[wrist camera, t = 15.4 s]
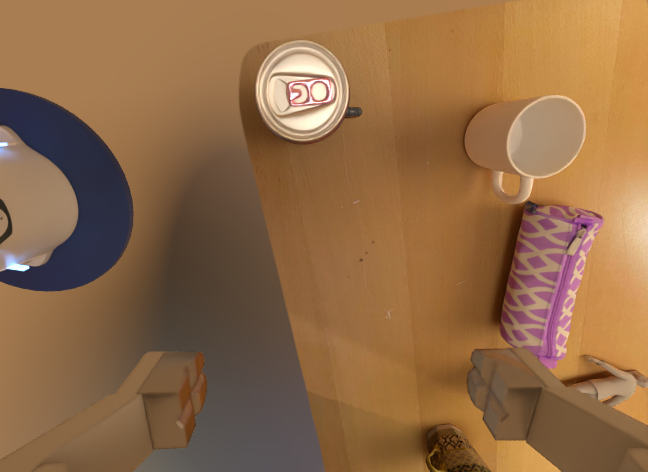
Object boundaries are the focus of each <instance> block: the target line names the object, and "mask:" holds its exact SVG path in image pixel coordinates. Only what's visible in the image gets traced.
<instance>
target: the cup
mask: <svg viewBox="0 0 648 472" xmlns="http://www.w3.org/2000/svg"><path fill="white" fill-rule="evenodd" d="M585 135H586V121H585V117H584V114H583V111H582V110H581V108H580V107H579V105H578V104H577V103H576V102H574V101H573V100H572V99H570V98H568V97H565V96H561V95H548V96H542V97H535V98H528V99H521V100H515V101H508V102H501V103H496V104H492V105H490V106H487V107H485V108H484V109H482V110H481V111H479V112H478V113H477V114H476V115H475V116H474V117H473V119H472V120H471V122H470V123H469V125H468V127H467V130H466V133H465V149H466V152H467V154H468V156H469V158H470V159H471V160H472V161H473V162H474V163H475V164H477V165H479V166H481V167H484V168H487V169H492V180H491V181H492V189H493V192H494V194H495V195H496V197H497V198H498V199H500V200H501V201H503V202H505V203H509V204H518V203H521V202H523V201H525V200H526V199H527V198H528V197H529V195H530V193H531V190H532V185H533V179H534V178H535V179H539V178H546V177H550V176H552V175H555V174H557V173H559V172H560V171H562V170H563V169H565V168H566V167H567V166H568V165H569V164H570V163H571V162H572V161H573V160H574V159H575V158H576V156H577V155H578V153H579V151H580V150H581V148H582V145H583V143H584V139H585ZM503 172H505V173H510V174H515V175H519V176H520V188H519V192H518V194H517V195H509V194H507V193H505V192H504V190H503V189H502V175H503Z"/></svg>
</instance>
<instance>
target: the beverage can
mask: <svg viewBox="0 0 648 472" xmlns="http://www.w3.org/2000/svg"><path fill="white" fill-rule="evenodd" d="M255 101H256V106H257V109H258V112H259V114H260V116H261V118H262V120H263V122H264V123H265V125H266V126H267V127H268V128H269V129H270V130H271V131H272V132H273V133H274V134H275V135H277V136H278V137H279V138H281V139H283V140H285V141H288V142H290V143H294V144H313V143H316V142H319V141H322V140H324V139H326V138H327V137H329V136H330V135H331V134H332V133H334V132H335V131H336V130H337V128H338V127H339V126H340V125H341V123H342V121H343V120H344V118H345V116H346V113H347V110H348V107H349V101H350V87H349V81H348V77H347V74H346V72H345V70H344V68H343V66H342V64H341V63H340V61H339V60H338V58H337V57H336V56H335V55H334V54H333V53H332V52H331V51H330V50H329V49H327V48H326V47H324V46H323V45H321V44H319V43H316V42H314V41H310V40H301V39H300V40H291V41H288V42H285V43H283V44H280V45H279V46H277V47H276V48H274V49H273V50H272V51H271V52H270V53H269V54H268V55H267V56H266V57H265V59H264V60H263V62H262V63H261V65H260V67H259V70H258V73H257V76H256V81H255Z"/></svg>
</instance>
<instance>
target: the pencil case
mask: <svg viewBox="0 0 648 472" xmlns="http://www.w3.org/2000/svg"><path fill="white" fill-rule="evenodd" d="M603 223H604V220H603V217H602V216H601V215H599V214H597V213H594V212H591V211H588V210H584V209H580V208H575V207H570V206H562V205H547V206H538V205H537V204H535V203H533V202H530V201H527V202H526V203H525V209H524V213H523V217H522V224H521V226H520V230H519V233H518V238H517V243H516V248H515V252H514V257H513V261H512V265H511V270H510V274H509V278H508V283H507V289H506V294H505V298H504V302H503V308H502V316H501V324H500V329H499V330H500V334H501V336H502V337H503V338H504V340H505V341H506V342H507V343H509V344H510V345H511V346H513V347H514V348H521V347H524V348H526V349H528V350H529V351H530V352H531V353H532V354H533V355H534V356H536V357H538V359H539V360H540V361H541V362H542V363H543V364H544V365H545V366H546V367H547V368H555V367H556V365H557V360H561V359H563V358H564V357H565V354H566V350H567V349H566V345H565V343H566V341H567V339H568V336H569V332H570V325H571V316H572V312H573V308H574V303H575V298H576V293H577V289H578V287H579V285H580V282H581V279H582V275H583V271H584V266H585V262H586V258H587V254H588V252H589V251H590V249H591V246H592V242H593V240H594V237H595V236H596V235H597V233H598V230H599V229H600V228H601V227H602V225H603Z"/></svg>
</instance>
